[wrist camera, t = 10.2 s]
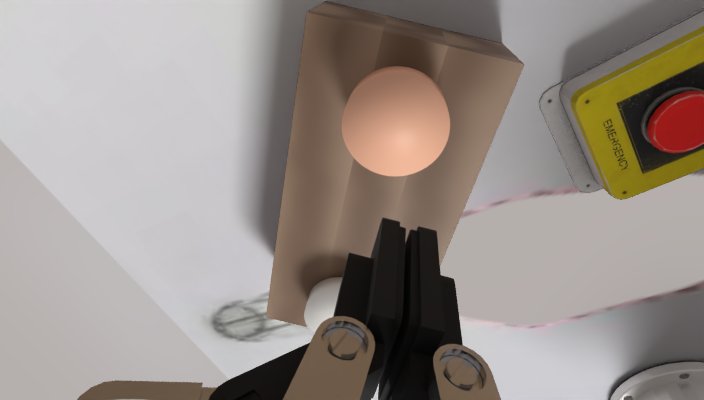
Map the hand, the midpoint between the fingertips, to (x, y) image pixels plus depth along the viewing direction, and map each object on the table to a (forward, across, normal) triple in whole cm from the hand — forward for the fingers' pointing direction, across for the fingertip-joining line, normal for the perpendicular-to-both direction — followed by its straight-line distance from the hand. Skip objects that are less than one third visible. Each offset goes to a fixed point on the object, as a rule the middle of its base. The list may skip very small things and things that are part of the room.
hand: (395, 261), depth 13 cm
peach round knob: (+18, +1, -1) cm, 18 cm away
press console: (+20, +1, +8) cm, 21 cm away
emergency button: (+21, -17, -4) cm, 27 cm away
